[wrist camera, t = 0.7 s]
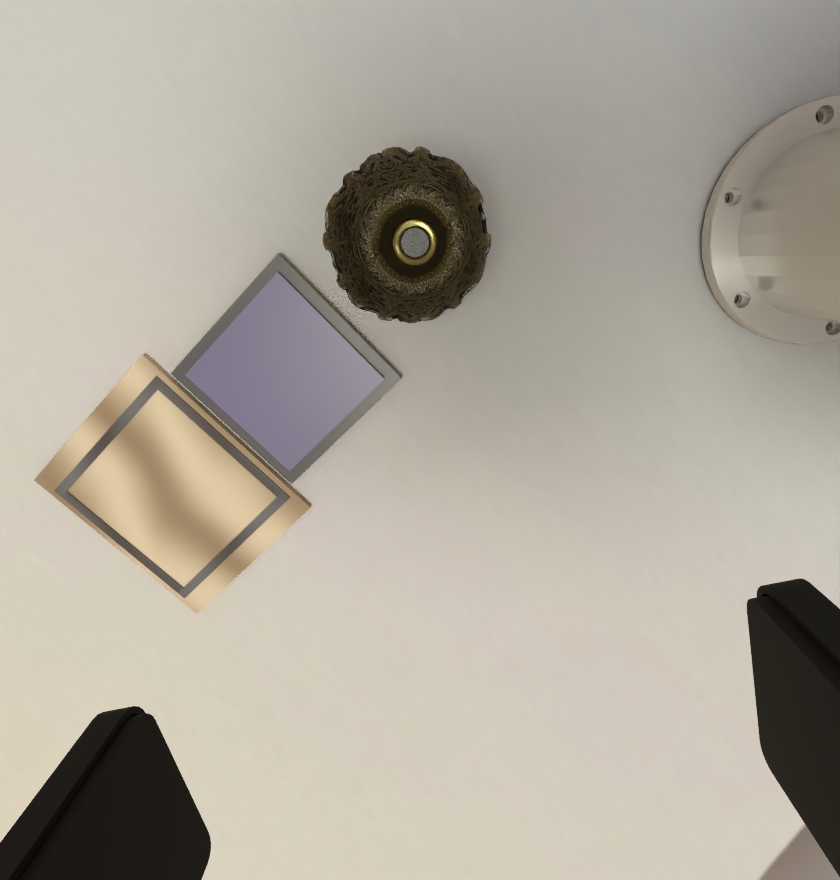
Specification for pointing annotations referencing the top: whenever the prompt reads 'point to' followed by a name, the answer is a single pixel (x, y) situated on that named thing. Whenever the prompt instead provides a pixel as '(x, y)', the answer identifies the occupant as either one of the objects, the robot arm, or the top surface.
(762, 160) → the robot arm
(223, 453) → the board
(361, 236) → the cup
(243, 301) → the ink pad
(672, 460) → the top surface
